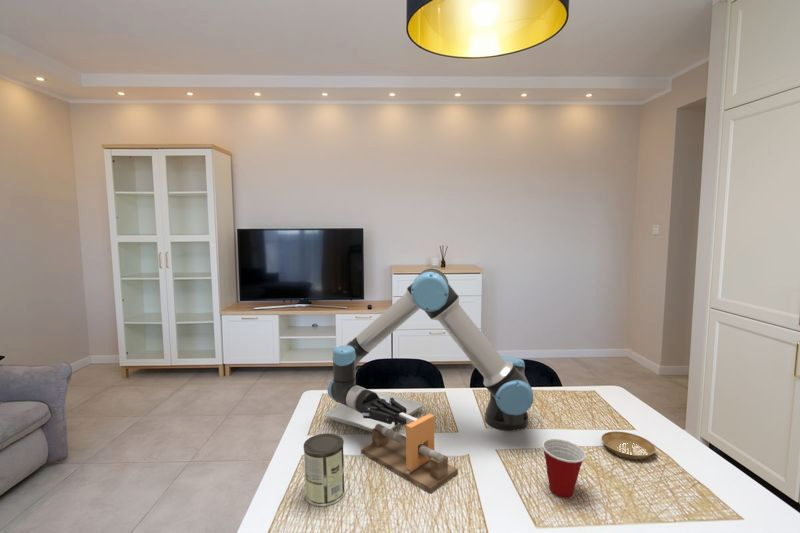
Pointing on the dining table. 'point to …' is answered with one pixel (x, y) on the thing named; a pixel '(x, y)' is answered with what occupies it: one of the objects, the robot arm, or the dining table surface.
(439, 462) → the pipe stand
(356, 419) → the square plate
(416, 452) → the upright orange slab
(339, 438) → the coffee can
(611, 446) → the plant saucer
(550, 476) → the plastic cup
